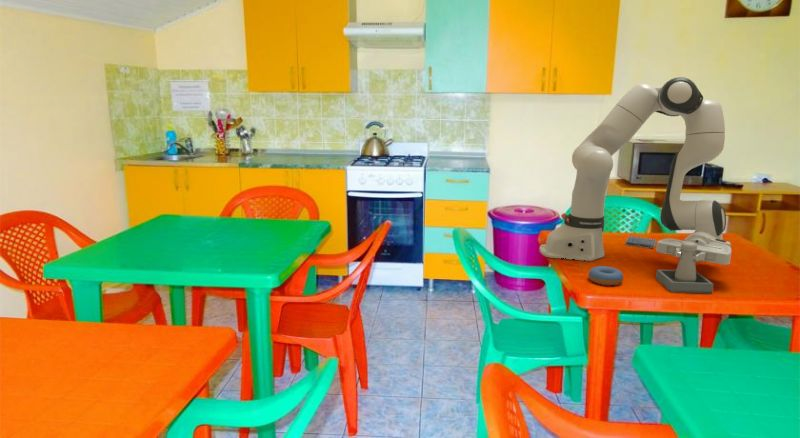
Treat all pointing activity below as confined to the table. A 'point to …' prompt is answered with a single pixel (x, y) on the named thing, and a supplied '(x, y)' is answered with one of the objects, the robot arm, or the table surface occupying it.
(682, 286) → the tray
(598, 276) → the doughnut
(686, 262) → the salt shaker
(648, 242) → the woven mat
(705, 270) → the table surface
